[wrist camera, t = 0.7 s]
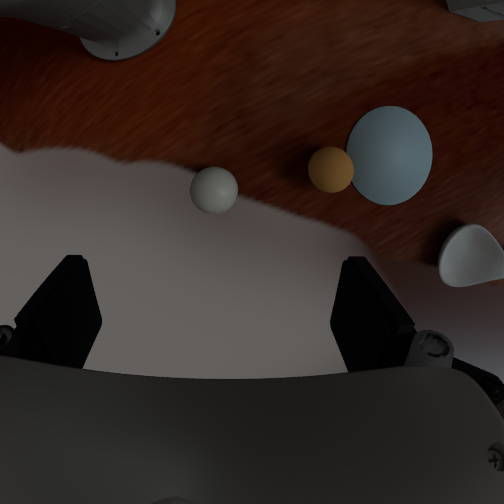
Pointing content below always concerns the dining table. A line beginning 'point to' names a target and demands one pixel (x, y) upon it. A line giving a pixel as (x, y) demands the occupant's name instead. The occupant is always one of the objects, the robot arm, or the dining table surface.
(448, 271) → the spoon rest
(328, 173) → the orange ball
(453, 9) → the supplement box
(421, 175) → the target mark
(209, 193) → the cue ball
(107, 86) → the dining table surface
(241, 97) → the dining table surface
